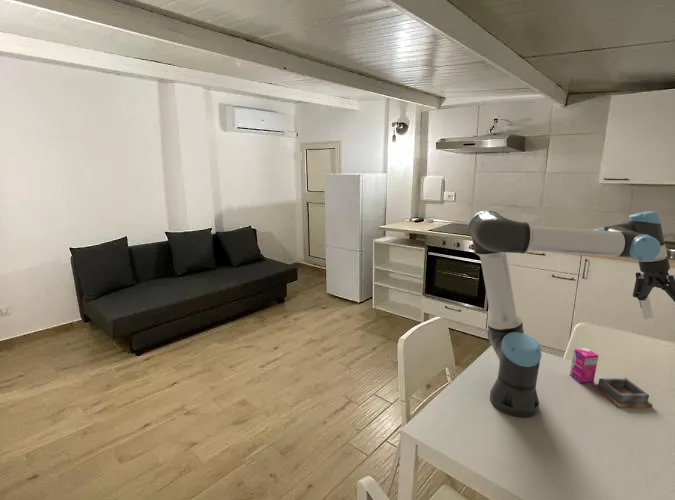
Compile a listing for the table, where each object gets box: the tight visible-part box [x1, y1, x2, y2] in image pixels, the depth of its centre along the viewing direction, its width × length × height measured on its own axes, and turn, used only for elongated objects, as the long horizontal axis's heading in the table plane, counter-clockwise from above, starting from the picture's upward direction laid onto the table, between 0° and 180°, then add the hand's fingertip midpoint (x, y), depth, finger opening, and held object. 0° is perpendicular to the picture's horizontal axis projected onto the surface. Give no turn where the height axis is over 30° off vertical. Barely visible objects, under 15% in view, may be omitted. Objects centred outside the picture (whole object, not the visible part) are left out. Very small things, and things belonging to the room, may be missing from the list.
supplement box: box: [569, 347, 599, 384], centre depth 142 cm, size 6×6×12 cm
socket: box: [592, 377, 653, 409], centre depth 132 cm, size 12×12×4 cm
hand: (666, 322), depth 123 cm, fingers open, 13 cm apart
